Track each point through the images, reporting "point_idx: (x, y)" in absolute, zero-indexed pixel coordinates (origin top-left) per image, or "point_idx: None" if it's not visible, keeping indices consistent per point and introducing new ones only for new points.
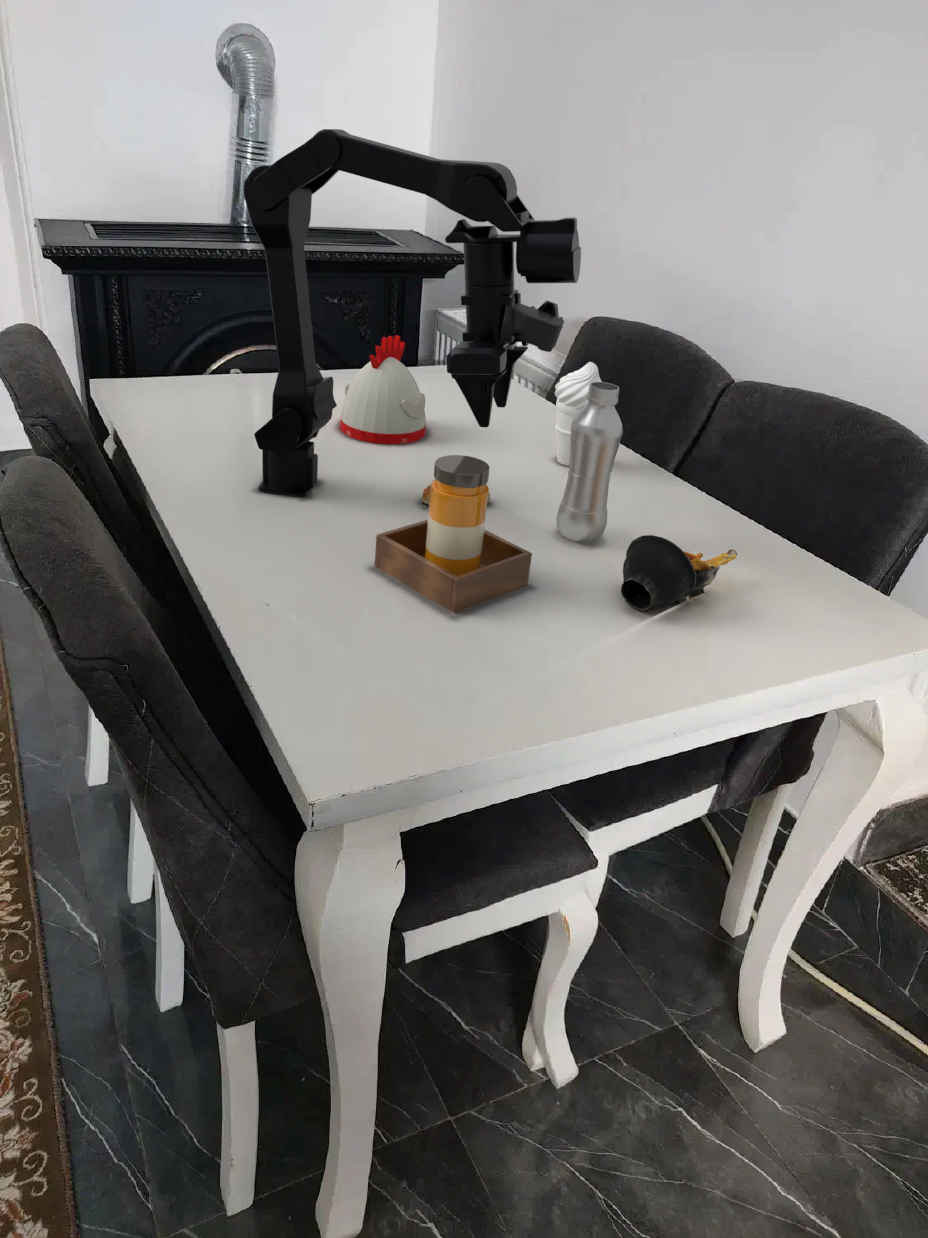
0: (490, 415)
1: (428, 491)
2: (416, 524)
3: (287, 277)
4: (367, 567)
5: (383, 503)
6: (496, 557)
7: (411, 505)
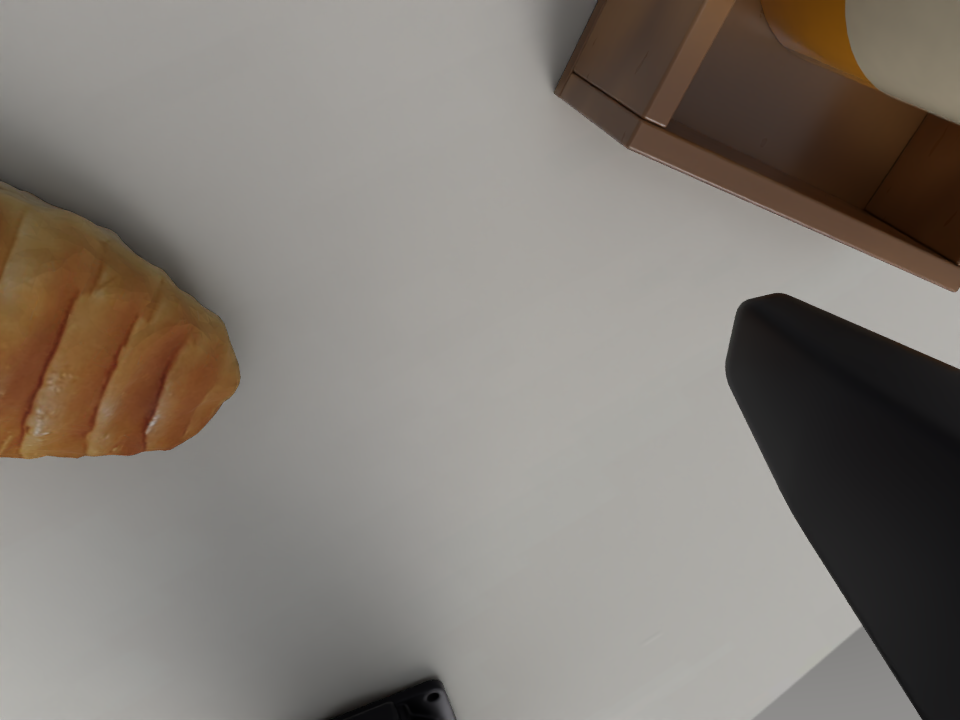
0: (845, 362)
1: (194, 419)
2: (823, 218)
3: None
4: (847, 254)
5: (298, 507)
6: None
7: (234, 425)
